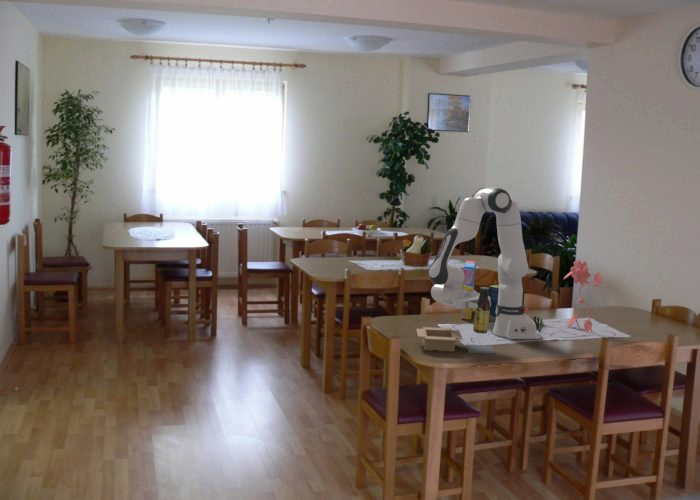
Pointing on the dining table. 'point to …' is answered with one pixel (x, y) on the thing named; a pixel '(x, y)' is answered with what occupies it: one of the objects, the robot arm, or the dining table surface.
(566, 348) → the dining table surface
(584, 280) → the pink blossom sprig
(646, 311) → the dining table surface
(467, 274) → the game box
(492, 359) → the dining table surface
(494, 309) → the protein box
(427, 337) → the carton
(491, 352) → the mat
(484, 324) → the sauce bottle
